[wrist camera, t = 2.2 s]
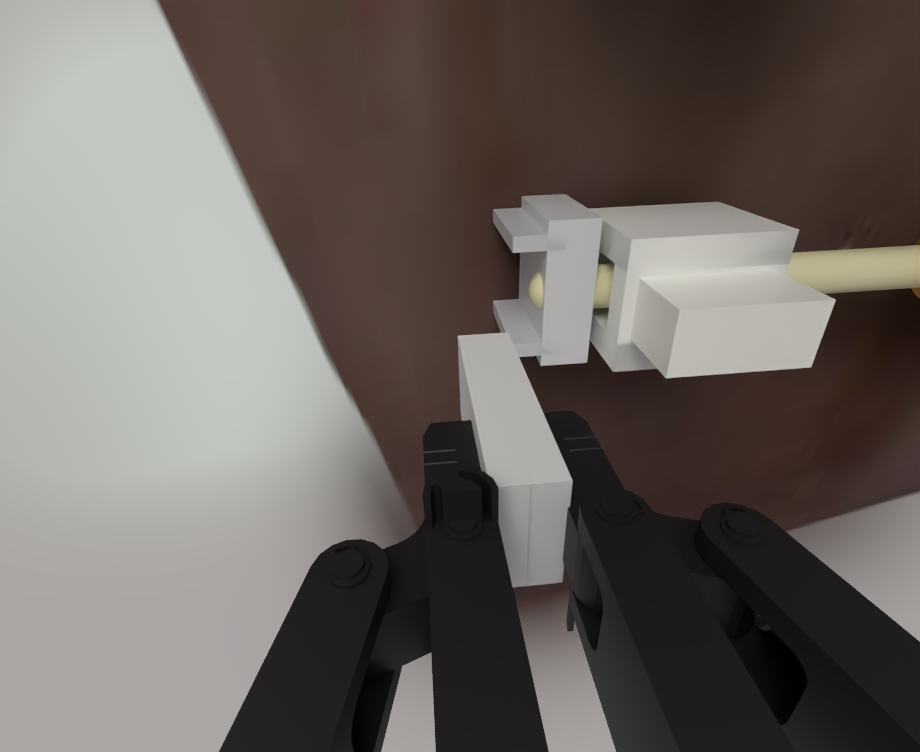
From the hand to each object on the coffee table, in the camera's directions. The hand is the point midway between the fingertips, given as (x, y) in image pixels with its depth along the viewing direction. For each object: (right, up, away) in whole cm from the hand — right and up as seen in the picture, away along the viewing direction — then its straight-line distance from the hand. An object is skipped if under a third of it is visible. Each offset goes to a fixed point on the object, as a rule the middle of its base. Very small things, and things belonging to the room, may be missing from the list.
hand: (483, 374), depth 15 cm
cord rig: (+14, +6, +9) cm, 18 cm away
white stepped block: (+8, +5, +8) cm, 12 cm away
